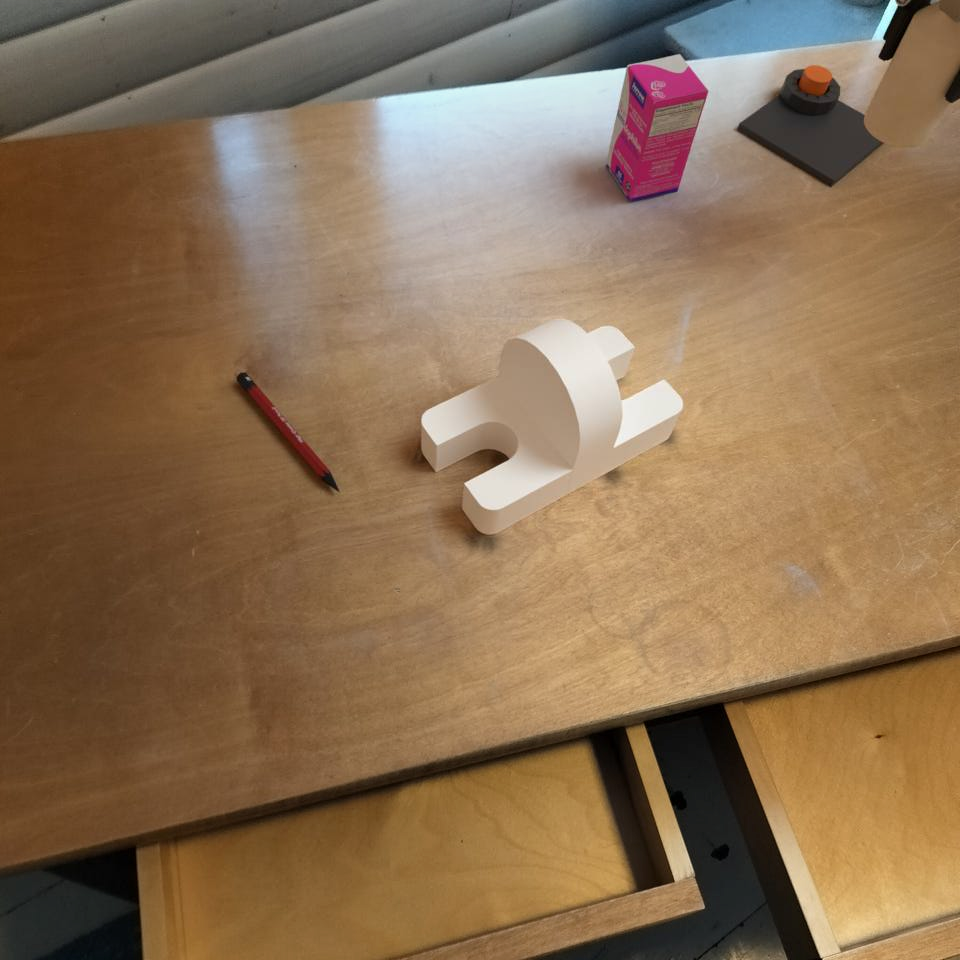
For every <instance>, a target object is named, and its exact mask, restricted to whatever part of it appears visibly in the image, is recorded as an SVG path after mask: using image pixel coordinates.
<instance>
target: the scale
mask: <svg viewBox="0 0 960 960" xmlns="http://www.w3.org/2000/svg"><path fill="white" fill-rule="evenodd" d="M804 70H805V68H800V69H799V68H798V69H794V70H793V71H791V72H789V74H787V75H786V76H785V79H784V82H783V84H782V86H781V89H780V90H781V91H780V94H778V95H777V96H775V97H774V98H773V99H771V100H769V102H767V103H766V104H764V105H762V106H761V107H760V108H759V109H757V110H756V111H755V112H753V113H751V115H749V116H747V117H746V118H744V119H742V121H741V122H739V123H738V126H737V129H736V131H738V132H740V133H741V134H743V136H746V137H748V138H749V139H751V140H752V141H754V142H756V143H758V144H759V145H761V146H762V147H764V148H766V149H768V150H769V151H771V152H772V153H774V154H775V155H777V156H779V157H781V158H782V159H783V160H786V161H787V162H789V163H791V164H792V165H794V166H796V167H797V168H799V169H800V170H801V171H804V172H805V173H807V174H808V175H810V176H812V177H813V178H815V179H817V180H819V181H820V182H822V183H824V184H825V185H826V186H828V187H830V188H832V187H834V186H835V185H836V184H837V183H838V182H839V181H840V180H842V179H843V178H844V177H845V176H847V175H848V174H849V173H850V172H852V170H854V169H855V168H856V167H858V166H859V165H860V164H861V163H862V162H863V161H864V160H866V159H867V158H868V157H870V155H872V154H873V153H874V152H876V151H877V150H878V149H879V148H880V147H882V146H883V145H884V144H885V143H883V142H881V141H880V140H878V139H876V138H875V137H874V136H872V135H871V134H870V133H869V131H868V130H867V129H866V127H865V124H864V116H865V113H862V112H860V111H858V110H857V109H855V108H853V107H851V105H850V106H849V105H848V104H846V103H844V102H842V101H841V100H839V99H840V96H841V85H840V84H839V83H838V81H837V80H836V79H835V78H834V77H832V79H831V81H830V83H829V86H828V88H827V90H826V92H825V94H823V95H821V96H815V95H810V94H807V93H805V92H804V91H802V90H800V88H799V82H800V79H801V77H802V75H803V72H804Z"/></svg>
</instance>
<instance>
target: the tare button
mask: <svg viewBox="0 0 960 960" xmlns="http://www.w3.org/2000/svg"><path fill="white" fill-rule="evenodd" d="M804 69H805V70H804V72H803V75H802V77H801V79H800V82H799V88H800V90H802V91H804V92H805V93H807V94H810V95H815V96H821V95H823V94H825V92H826V90H827V88H828V86H829V83H830V81H831V79H832V78H833V75H832V72H831V71H830V70H829V68H826V67H824V66H822V65H817V64H816V65H815V64H813V65H812V64H811V65H808V66H806V67H805V68H804Z"/></svg>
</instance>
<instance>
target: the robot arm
mask: <svg viewBox="0 0 960 960" xmlns="http://www.w3.org/2000/svg"><path fill="white" fill-rule="evenodd" d="M894 1H895V3H896V5H897V7H895V8H896V9H895V11H894V13H893V14H892V17H891V19H890V21H889V23H888V25H887V27H886V30H885V32H884V34H883V36H882V40H883V41H884V43H883V44H882V45H883V46H882V47H881V50H880V52H879V54H878V59H879V60H881V61H883V62H886V61H891V60H892V58H893V56H894V54H895V52H896V50H897V48H898V46H899V44H900V42H901V40H902V38H903V36H904V34H905V32H906V30H907V28H908V26H909V24H910V22H911V20H912V18H913V16H914V14H915V13H916V12H917V11H918V10H920V9H922V8H924V7H926V6H929V5H931V4H932V3H931V2H932V0H894ZM945 97H946V99H945V100H946V101H948V102H950V104H953V103H955V102H957V101H958V100H960V70H959V72H958V74H957V75H956V77H955V79H954V81H953V82H952V84H951V86H950V88H949V89H948V91H947V93H946V95H945Z"/></svg>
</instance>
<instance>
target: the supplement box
mask: <svg viewBox="0 0 960 960" xmlns="http://www.w3.org/2000/svg"><path fill="white" fill-rule="evenodd" d="M620 92H621V93H620V97H619V102H618V106H617V111H616V115H615V121H614V123H613V128H612V129H613V130H612V134H611V139H610V143H609V146H608V147H609V148H608V152H607V158H606V163H605V167H606V169H607V170H608V171H609V173H610V174H611V175H612V177H613V179H614V180H615V182H616V183H617V184H618V186H619V187H620V190H622V191H621V192H623V195H624V196H625V198H626V199H627V201H628V202H630V203H631V202H635V201H640V200H644V199H649V198H654V197H658V196H662V195H663V196H664V195H666V194H672V193H677V192H678V191H679V189H680V185H681V183H682V179H683V177H684V176H683V175H684V172H685V169H686V165H687V162H688V159H689V156H690V153H691V150H692V146H693V144H694V139H695V136H696V134H697V130H698V126H699V124H700V119H701V118H702V114H703V110H704V108H705V104H706V100H707V99H708V94H709V89H708V88H707V86H705V84H704V83H703V82H702V81H701V79H700V78H699V76H698V75H697V74H696V73H695V71H694V70H693V69H692V67H691V66H690V65H689V64H688V62H687V61H686V60H685V59H684V57H683V56H682V55H681V54H680V53H678V54H673V55H670V56H669V55H668V56H665V57H661V58H655V59H652V60H651V59H650V60H646V61H640V62H635V63H629V64H628V65H627V66H626V69H625V74H624V79H623V83H622V88H621V91H620Z"/></svg>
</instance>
